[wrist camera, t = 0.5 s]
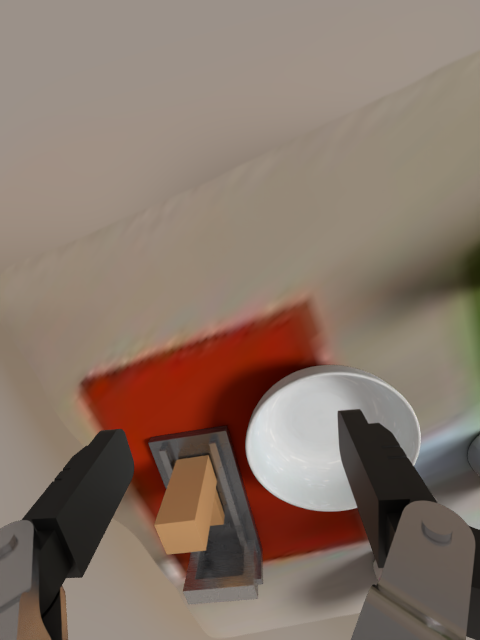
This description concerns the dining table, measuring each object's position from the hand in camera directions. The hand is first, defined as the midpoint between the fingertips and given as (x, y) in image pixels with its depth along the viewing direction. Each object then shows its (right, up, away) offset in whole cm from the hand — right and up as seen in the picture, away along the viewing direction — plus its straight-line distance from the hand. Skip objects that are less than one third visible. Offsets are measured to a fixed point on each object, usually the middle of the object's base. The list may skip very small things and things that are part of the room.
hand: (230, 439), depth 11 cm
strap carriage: (-5, -22, +34) cm, 41 cm away
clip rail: (-5, -24, +37) cm, 44 cm away
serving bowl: (+12, -9, +31) cm, 35 cm away
